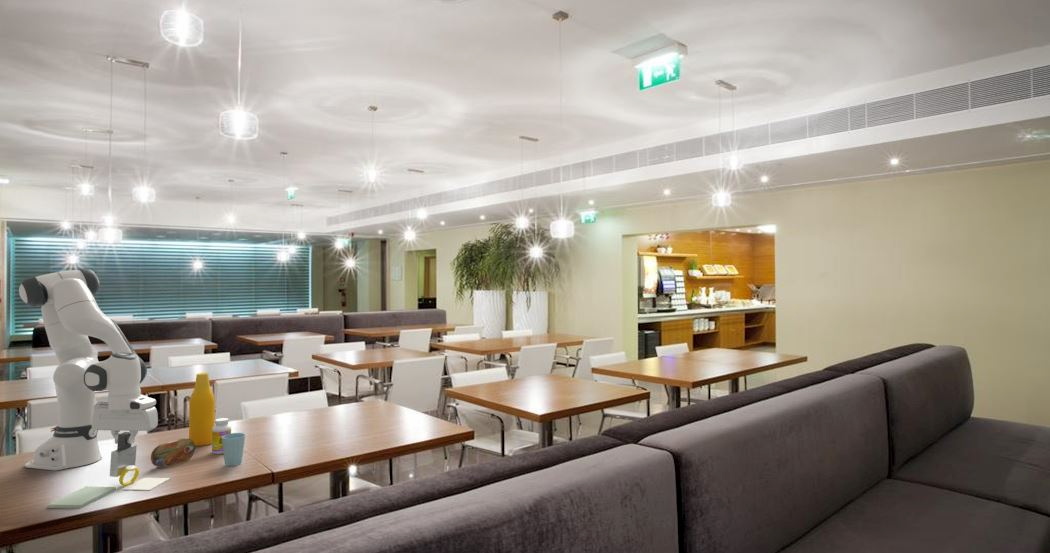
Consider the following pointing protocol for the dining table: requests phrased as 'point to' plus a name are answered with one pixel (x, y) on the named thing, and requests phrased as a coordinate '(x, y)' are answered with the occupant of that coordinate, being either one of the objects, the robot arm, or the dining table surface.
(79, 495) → the plate
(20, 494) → the dining table surface
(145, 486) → the face down mat
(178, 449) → the tin
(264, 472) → the dining table surface
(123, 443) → the grey upright panel
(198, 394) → the yellow bottle
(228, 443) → the cup
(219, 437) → the supplement bottle
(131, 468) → the yellow ring
